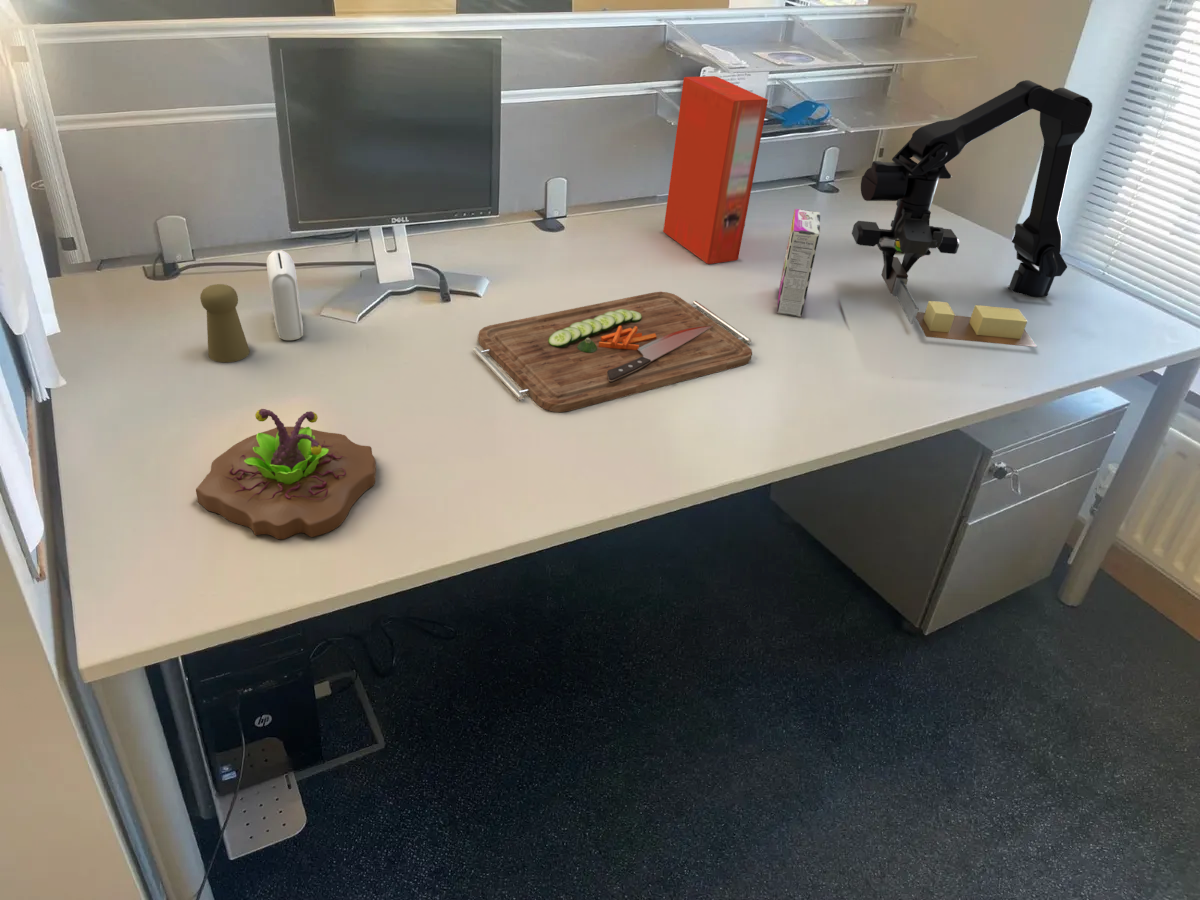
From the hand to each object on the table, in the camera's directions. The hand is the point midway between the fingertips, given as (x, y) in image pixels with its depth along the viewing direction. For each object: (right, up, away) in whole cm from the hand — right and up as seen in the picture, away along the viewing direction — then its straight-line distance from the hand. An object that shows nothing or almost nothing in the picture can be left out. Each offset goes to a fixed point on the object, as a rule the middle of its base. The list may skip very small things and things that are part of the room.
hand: (893, 279), depth 173 cm
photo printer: (-108, -13, -25) cm, 111 cm away
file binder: (-35, +10, +17) cm, 40 cm away
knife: (0, -4, -5) cm, 6 cm away
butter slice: (+5, -10, -9) cm, 14 cm away
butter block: (+16, -11, -9) cm, 21 cm away
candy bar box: (-21, -5, -3) cm, 22 cm away
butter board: (+12, -12, -8) cm, 18 cm away
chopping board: (-54, -16, -23) cm, 61 cm away
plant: (-96, -38, -59) cm, 119 cm away
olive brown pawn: (-114, -18, -33) cm, 120 cm away
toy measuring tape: (+13, +14, +28) cm, 34 cm away
